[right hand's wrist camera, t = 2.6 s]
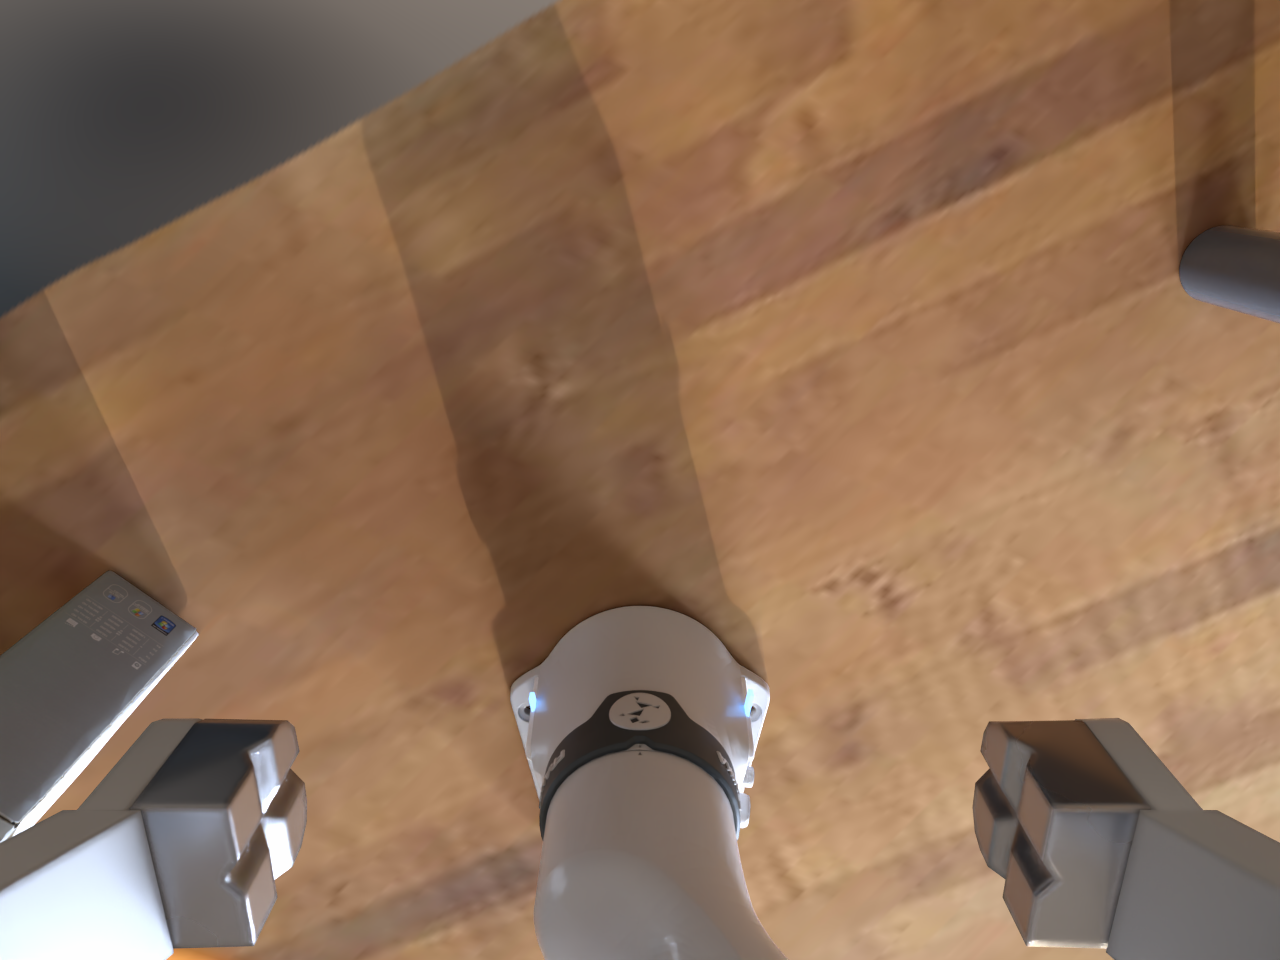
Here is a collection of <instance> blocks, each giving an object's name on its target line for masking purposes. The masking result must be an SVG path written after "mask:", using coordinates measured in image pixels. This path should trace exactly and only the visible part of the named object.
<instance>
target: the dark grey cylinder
mask: <svg viewBox="0 0 1280 960" xmlns="http://www.w3.org/2000/svg"><path fill="white" fill-rule="evenodd" d="M1179 276H1180V281H1181V284H1182V286H1183V288H1184V290H1185V291H1186V292H1187V293H1188V294H1189V295H1190V296H1191V297H1192V298H1194V299H1196V300H1199V301H1202V302H1205V303H1209V304H1212V305H1216V306H1220V307H1223V308H1227V309H1230V310H1234V311H1237V312H1241V313H1244V314H1248V315H1251V316H1255V317H1258V318H1262V319H1266V320H1269V321H1273V322H1276V323H1280V232H1273V231H1266V230H1259V229H1252V228H1244V227H1237V226H1230V225H1223V226H1217V227H1214V228H1211V229H1209V230H1207V231H1205V232H1203V233H1202V234H1200V235H1199V236H1197V237H1196V238H1195V239H1194V240H1193V241H1192V242H1191V243H1190V245H1189V246H1188V247H1187V249H1186V250H1185V252H1184V254H1183V257H1182V259H1181V263H1180V269H1179Z"/></svg>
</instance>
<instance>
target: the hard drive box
mask: <svg viewBox="0 0 1280 960" xmlns="http://www.w3.org/2000/svg"><path fill="white" fill-rule="evenodd" d="M198 635H199V633H197V632H196V628H195V627H193V626H191V625H190V624H189V623H187V622H186V621H184V620H183V619H181V618H180V617H178V616H177V615H175V614H174V613H172V612H171V611H170V610H168V609H167V608H165V607H164V606H162V605H161V604H159V603H158V602H157V601H155V600H154V599H152V598H151V597H149V596H148V595H146V594H145V593H143V592H142V591H140V590H139V589H138V588H136V587H135V586H133V585H132V584H130V583H129V582H128V581H126V580H125V579H123V578H122V577H120V576H119V575H117V574H116V573H114V572H112V571H107V572H106V573H104V574H103V575H102V576H100V577H99V578H98V579H97V580H95V581H94V582H93V583H91V584H90V585H89V586H87V587H86V588H85V589H84V590H82V591H81V592H80V593H78V594H77V595H76V596H75V597H73V598H72V599H71V600H70V601H68V602H67V603H66V604H65V605H64V606H62V607H61V608H60V609H58V610H57V611H56V612H54V613H53V614H52V615H51V616H49V617H48V618H47V619H46V620H44V621H43V622H42V623H41V624H39V625H38V626H37V627H36V628H34V629H33V630H32V631H31V632H29V633H28V634H27V635H26V636H24V637H23V638H22V639H21V640H19V641H18V642H17V643H16V644H14V645H13V646H12V647H11V648H9V649H8V650H7V651H6V652H4V653H3V654H2V655H1V656H0V843H1V842H3V841H5V840H7V839H9V838H11V837H12V836H14V835H16V834H18V833H20V832H22V831H24V830H26V829H28V828H30V827H32V826H33V825H34V824H35V823H36V822H37V821H38V820H39V819H40V818H41V816H42V815H43V814H44V813H45V812H46V811H47V810H48V809H49V808H50V806H51V805H52V804H53V803H54V802H55V801H56V800H57V799H58V798H59V796H60V795H61V794H62V793H63V792H64V791H65V790H66V789H67V788H68V787H69V785H70V784H71V783H72V782H73V781H74V780H75V779H76V777H77V776H78V775H79V774H80V773H81V772H82V771H83V770H84V768H85V767H86V766H87V765H88V764H89V763H90V761H91V760H92V759H93V758H94V757H95V755H96V754H97V753H98V752H99V751H100V750H101V748H102V747H103V746H104V745H105V743H106V742H107V741H108V740H109V739H110V738H111V736H112V735H113V734H114V733H115V732H116V731H117V729H118V728H119V727H120V726H121V725H122V723H123V722H124V721H125V720H126V719H127V718H128V716H129V715H130V714H131V713H132V712H133V711H134V710H135V708H136V707H137V706H138V705H139V704H140V703H141V701H142V700H143V699H144V698H145V697H146V696H147V694H148V693H149V692H150V691H151V690H152V689H153V688H154V686H155V685H156V684H157V683H158V682H159V681H160V680H161V678H162V677H163V676H164V675H165V674H166V673H167V672H168V670H169V669H170V668H171V667H172V666H173V665H174V663H175V662H176V661H177V660H178V659H179V658H180V657H181V655H182V654H183V653H184V652H185V651H186V650H187V648H188V647H189V646H190V645H191V644H192V642H193V641H194V640H195V639H196V637H197V636H198Z"/></svg>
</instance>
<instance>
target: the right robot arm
mask: <svg viewBox="0 0 1280 960" xmlns="http://www.w3.org/2000/svg"><path fill="white" fill-rule="evenodd" d="M510 701H511V705H512V708H513V712H514V715H515V718H516V722H517V725H518V729H519V732H520V736H521V739H522V743H523V746H524V749H525V753H526V758H527V760H528V763H529V767H530V770H531V774H532V777H533V780H534V784H535V787H536V791H537V794H538V798H539V808H541V809H540V831H541V837H542V840H543V847H542V854H541V861H540V868H539V876H538V883H537V891H536V898H535V905H534V925H535V932H536V937H537V940H538V944H539V947H540V950H541V952H542V954H543V956H544V958H545V960H789V959H788V958H787V957H786V956H785V955H784V954H783V952H782V951H781V950H780V949H779V948H778V947H777V945H776V944H775V943H774V941H773V940H772V939H771V938H770V936H769V935H768V933H767V932H766V930H765V929H764V927H763V926H762V924H761V923H760V921H759V919H758V917H757V915H756V913H755V911H754V909H753V906H752V904H751V900H750V897H749V893H748V890H747V886H746V882H745V878H744V874H743V870H742V865H741V860H740V855H739V850H738V845H737V840H738V837H739V831H740V828H744V827H747V825H748V822H749V817H750V797H749V795H747V794H744V793H743V791H744V787H752V785H753V782H754V768H753V767H751V763H752V760H753V758H754V753H755V750H756V746H757V743H758V739H759V736H760V732H761V729H762V725H763V722H764V719H765V715H766V712H767V708H768V705H769V701H770V692H769V686H768V684H767V683H766V682H765V681H764V680H763V679H762V678H761V677H759V676H758V675H756V674H755V673H753V672H752V671H750V670H748V669H746V668H745V667H743V666H741V665H739V664H738V663H737V662H736V661H735V659H734V658H733V657H732V656H731V654H730V653H729V652H728V650H727V649H726V647H725V646H724V645H723V643H722V642H721V641H720V640H719V639H718V638H717V637H716V635H715V634H713V633H712V632H711V631H710V630H709V629H708V628H706V627H705V626H704V625H702V624H701V623H699V622H698V621H696V620H694V619H692V618H690V617H688V616H686V615H684V614H681V613H679V612H676V611H673V610H669V609H665V608H660V607H653V606H627V607H620V608H615V609H611V610H607V611H604V612H601V613H599V614H596V615H594V616H592V617H590V618H588V619H586V620H584V621H582V622H581V623H579V624H578V625H576V626H575V627H574V628H572V629H571V630H570V631H569V632H568V633H567V634H566V635H565V636H564V637H563V638H562V639H561V640H560V641H559V642H558V643H557V645H556V646H555V647H554V649H553V650H552V652H551V653H550V654H549V656H548V657H547V658H546V659H545V661H544V662H543V663H542V664H541V665H539V666H537V667H535V668H534V669H532V670H530V671H528V672H527V673H525V674H524V675H522V676H521V677H519V678H518V679H517V680H516V681H515V682H514V683H513V684H512V686H511V693H510ZM527 706H530V707H531V710H529V709H527V708H526V707H527ZM751 706H753V707H754V708H753V709H751ZM298 753H299V746H298V741H297V736H296V731H295V727H294V726H293V725H292V724H291V723H290V722H289V721H287V720H242V719H204V720H202V719H161V720H158V721H155V722H152V723H151V724H150V725H149V726H148V727H147V728H146V730H145V731H144V732H143V733H142V734H141V736H140V737H139V738H138V739H137V740H136V741H135V743H134V744H133V745H132V746H131V747H130V748H129V750H128V751H127V752H126V753H125V754H124V755H123V757H122V758H121V759H120V760H119V761H118V763H117V764H116V765H115V766H114V767H113V768H112V770H111V771H110V772H109V773H108V774H107V775H106V777H105V778H104V779H103V780H102V781H101V782H100V784H99V785H98V786H97V787H96V788H95V789H94V791H93V792H92V793H91V794H90V795H89V797H88V798H87V799H86V800H85V801H84V802H83V804H82V805H81V806H80V807H79V808H78V809H77V810H63V811H61V812H59V813H57V814H55V815H53V816H51V817H49V818H47V819H45V820H43V821H41V822H39V823H37V824H36V825H34V826H32V827H30V828H28V829H26V830H24V831H22V832H20V833H18V834H16V835H14V836H12V837H11V838H9V839H7V840H5V841H3V842H1V843H0V960H166V959H167V958H168V957H169V956H171V955H172V954H173V952H174V951H173V948H204V947H238V946H254V944H255V942H256V940H257V938H258V936H259V934H260V932H261V930H262V928H263V926H264V924H265V922H266V920H267V917H268V915H269V913H270V911H271V909H272V907H273V905H274V903H275V901H276V899H277V892H276V886H275V880H274V879H276V878H277V877H278V876H280V875H281V874H282V873H284V872H285V871H287V870H288V869H289V868H291V867H292V866H293V864H294V861H295V859H296V857H297V855H298V852H299V850H300V848H301V845H302V840H303V836H304V831H305V827H306V822H307V797H306V790H305V783H304V782H303V781H302V780H301V779H300V778H299V777H298V776H297V775H296V774H295V773H294V772H293V771H292V770H291V769H290V768H291V766H292V764H293V762H294V760H295V758H296V757H297V755H298ZM981 753H982V755H983V757H984V758H985V760H986V762H987V764H988V766H989V768H990V769H989V770H988V771H987V772H986V773H985V774H984V775H983V776H982V777H981V778H980V779H979V780H978V781H977V782H976V783H975V791H974V800H973V817H974V828H975V834H976V837H977V841H978V844H979V848H980V851H981V853H982V855H983V857H984V859H985V861H986V864H987V866H988V867H989V868H991V869H992V870H993V871H995V872H996V873H998V874H999V875H1000V876H1002V877H1003V878H1004V879H1006V880H1005V886H1004V892H1003V899H1004V901H1005V903H1006V905H1007V907H1008V909H1009V911H1010V913H1011V915H1012V917H1013V919H1014V922H1015V924H1016V926H1017V928H1018V930H1019V932H1020V934H1021V936H1022V938H1023V940H1024V942H1025V944H1026V946H1040V947H1075V948H1107V950H1106V953H1108V954H1109V955H1110V956H1111V957H1112V958H1113V959H1115V960H1280V843H1279V842H1277V841H1275V840H1273V839H1271V838H1269V837H1267V836H1266V835H1264V834H1262V833H1260V832H1258V831H1256V830H1254V829H1252V828H1250V827H1248V826H1246V825H1244V824H1242V823H1241V822H1239V821H1237V820H1235V819H1233V818H1231V817H1229V816H1227V815H1225V814H1223V813H1221V812H1219V811H1217V810H1203V809H1202V808H1201V807H1200V806H1199V805H1198V804H1197V802H1196V801H1195V800H1194V799H1193V798H1192V797H1191V795H1190V794H1189V793H1188V792H1187V791H1186V790H1185V788H1184V787H1183V786H1182V785H1181V784H1180V783H1179V781H1178V780H1177V779H1176V778H1175V777H1174V775H1173V774H1172V773H1171V772H1170V771H1169V770H1168V768H1167V767H1166V766H1165V765H1164V764H1163V763H1162V761H1161V760H1160V759H1159V758H1158V757H1157V756H1156V754H1155V753H1154V752H1153V751H1152V750H1151V749H1150V747H1149V746H1148V745H1147V744H1146V743H1145V742H1144V740H1143V739H1142V738H1141V737H1140V736H1139V734H1138V733H1137V732H1136V731H1135V730H1134V729H1133V727H1132V726H1131V725H1130V724H1129V723H1128V722H1126V721H1123V720H1121V719H1119V718H1103V719H1075V720H1071V721H991V722H989V723H988V725H987V727H986V729H985V731H984V734H983V740H982V745H981Z"/></svg>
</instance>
